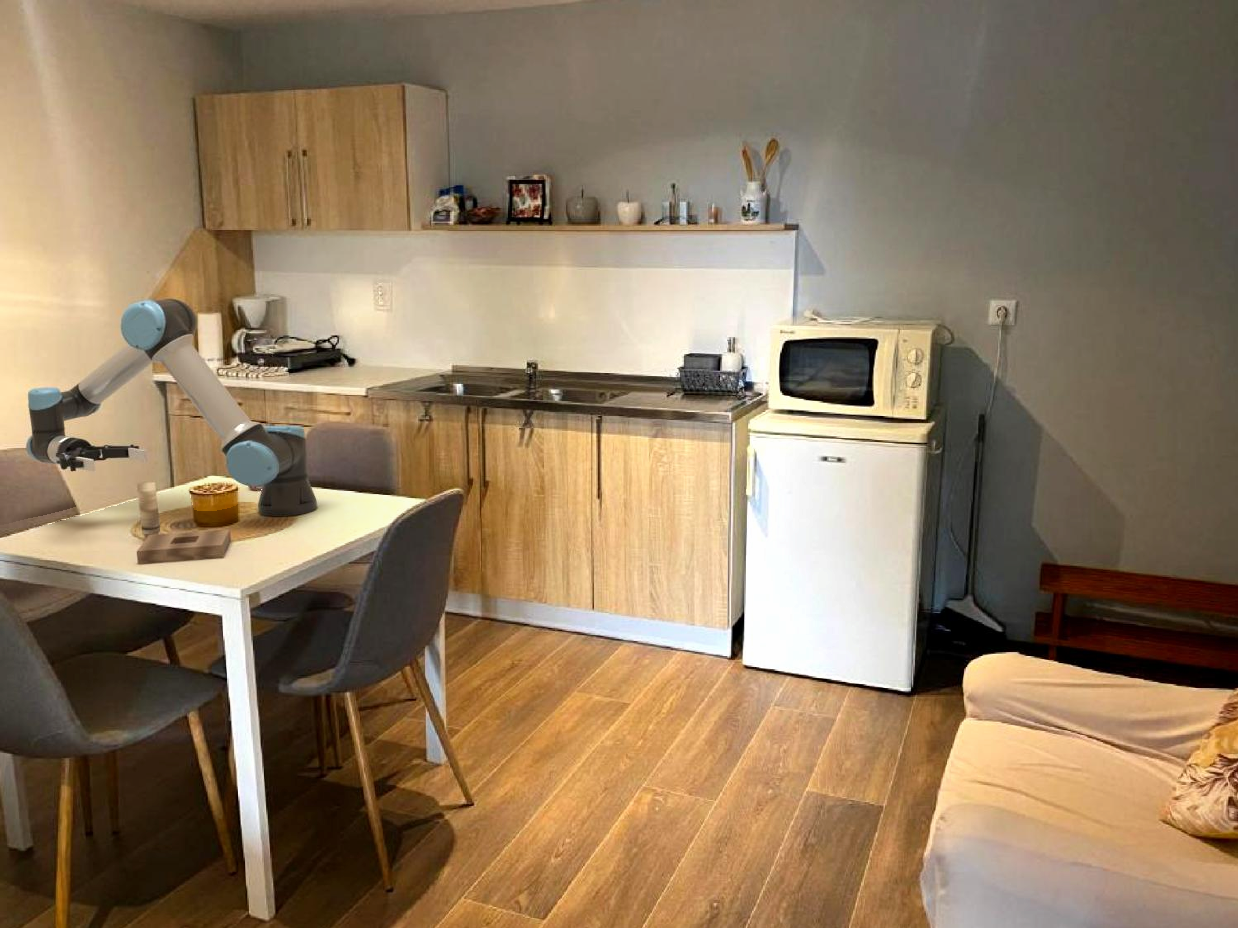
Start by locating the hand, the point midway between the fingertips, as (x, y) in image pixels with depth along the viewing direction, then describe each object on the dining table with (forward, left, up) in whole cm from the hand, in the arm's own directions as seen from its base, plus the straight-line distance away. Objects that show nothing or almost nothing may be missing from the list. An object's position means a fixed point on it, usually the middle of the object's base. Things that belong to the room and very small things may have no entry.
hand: (119, 460), depth 253 cm
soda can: (-27, -45, -19) cm, 56 cm away
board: (-17, +21, -19) cm, 33 cm away
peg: (-7, +7, -19) cm, 21 cm away
